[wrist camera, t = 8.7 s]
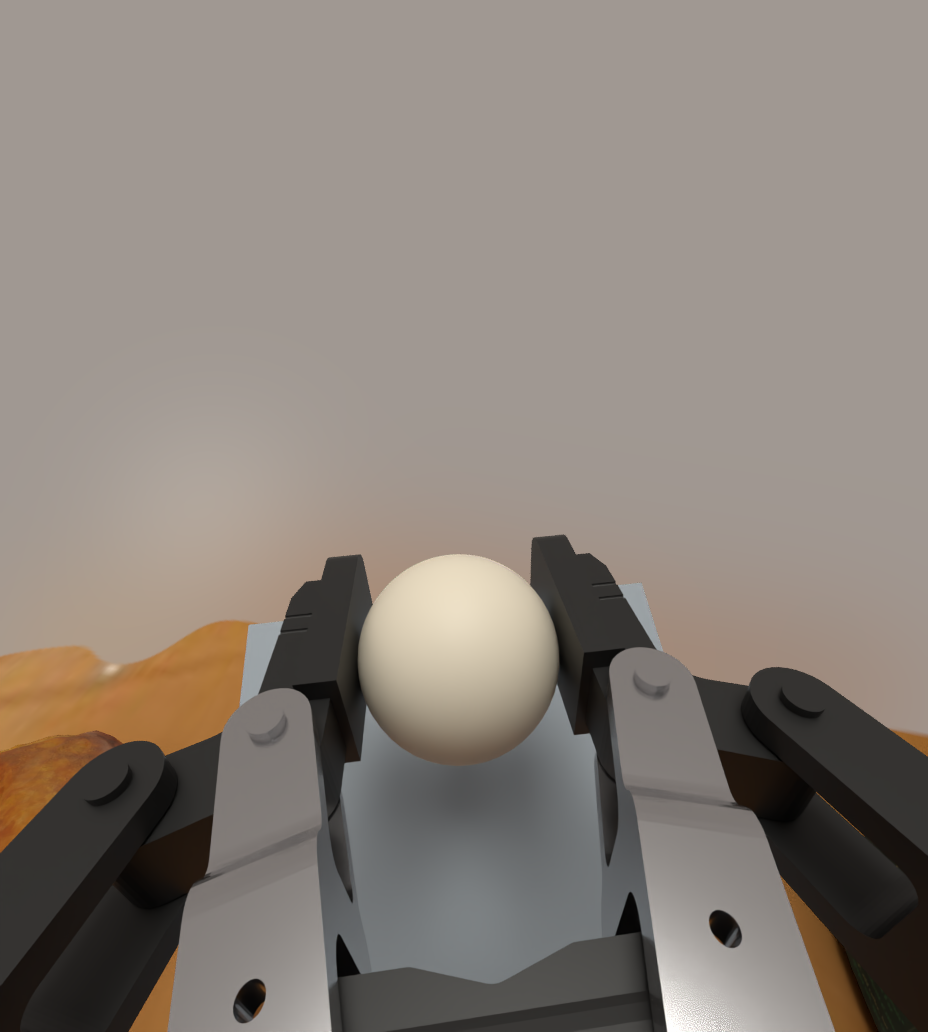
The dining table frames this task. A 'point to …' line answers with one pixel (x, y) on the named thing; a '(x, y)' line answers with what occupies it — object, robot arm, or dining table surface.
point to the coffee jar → (880, 997)
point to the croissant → (42, 775)
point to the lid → (466, 775)
